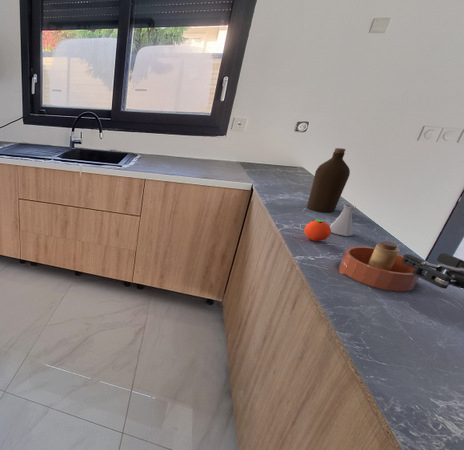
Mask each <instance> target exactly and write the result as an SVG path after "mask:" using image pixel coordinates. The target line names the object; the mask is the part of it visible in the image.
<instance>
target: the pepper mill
mask: <svg viewBox="0 0 464 450" xmlns="http://www.w3.org/2000/svg"><path fill="white" fill-rule="evenodd" d="M398 247H399V245H398V244H397V243H394V242H392V241H387V240H383V241H381V242H380V243H376V244H375V246H374V248H375V249H374V251H373V254H372V256H371V258H370V260H369V263H368V265H369V266H372V267H375V268H378V269H382V270H387V271H390V270H391V268H392V266H393V264H394V262H395V260H396V258H397V256H398V254H399V253H400V252H401V250H400V248H398ZM399 255H400V254H399Z"/></svg>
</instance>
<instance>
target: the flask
mask: <svg viewBox="0 0 464 450" xmlns="http://www.w3.org/2000/svg"><path fill="white" fill-rule="evenodd" d="M356 208H357V207H356V205H353V204H347V203H346V204H343V209H342V211H341V213H340V214H339V215H338V217H336V219H335V220H334V221H333V222H332V223H331V224H329V226H330V228H331V234H332V233H333V234H334V235H338V236H339V235H340V236H342V237H343V236H344V237H349V236H353V235H354V228H353V212H354V210H355V209H356Z"/></svg>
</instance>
